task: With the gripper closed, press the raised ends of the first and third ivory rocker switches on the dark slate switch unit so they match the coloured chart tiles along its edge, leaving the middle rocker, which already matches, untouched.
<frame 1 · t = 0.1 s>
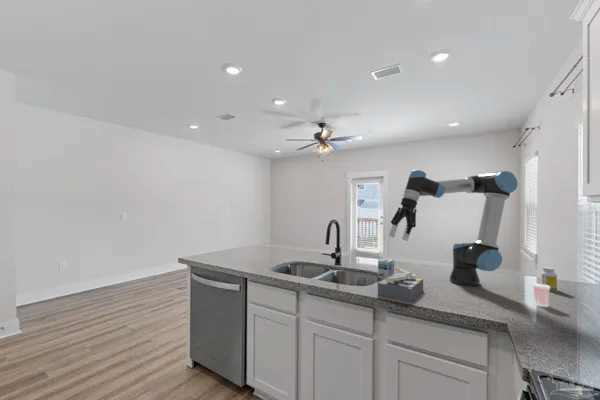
hand: (397, 238, 145), 28 cm above the worktop, tool tilted 20°, fingers open, 13 cm apart
rocker 1: (405, 272, 150), point 9 cm above the worktop, hinge at -17.0°
rocker 2: (401, 275, 144), point 9 cm above the worktop, hinge at 17.0°
light bulb box: (386, 277, 174), on the worktop
beverage cup: (541, 305, 128), on the worktop
switch unit: (401, 292, 144), on the worktop
rocker 3: (396, 278, 139), point 9 cm above the worktop, hinge at 17.0°
pill bottle: (548, 289, 152), on the worktop
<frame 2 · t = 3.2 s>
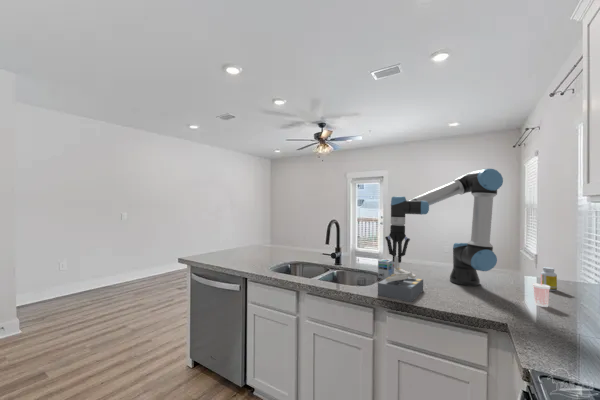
hand: (396, 268, 153), 11 cm above the worktop, tool pointing down, fingers closed
rocker 1: (405, 272, 150), point 9 cm above the worktop, hinge at -15.3°, touching gripper
everything else where it was.
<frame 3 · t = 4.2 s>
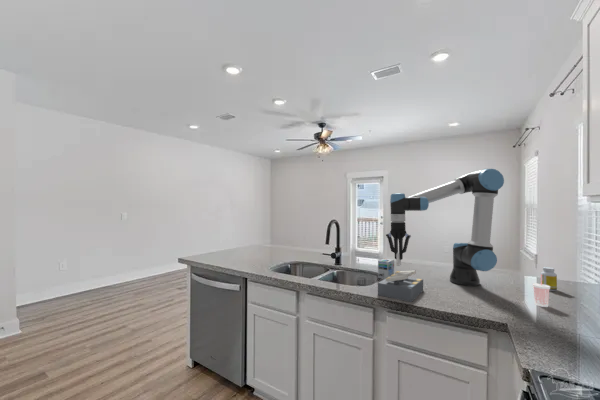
hand: (398, 265, 152), 12 cm above the worktop, tool pointing down, fingers closed
rocker 1: (405, 272, 150), point 9 cm above the worktop, hinge at 11.9°
everything else where it was.
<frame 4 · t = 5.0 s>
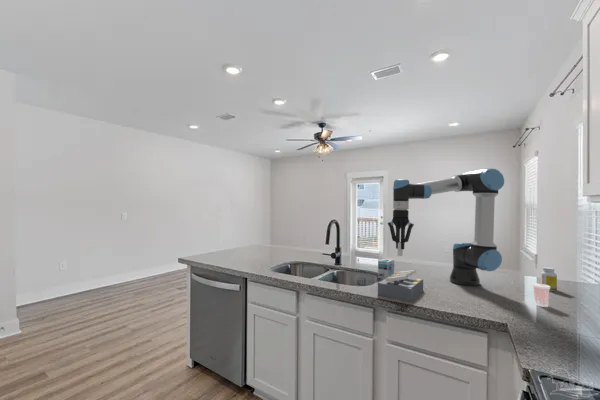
hand: (400, 255, 144), 19 cm above the worktop, tool pointing down, fingers closed
rocker 1: (405, 272, 150), point 9 cm above the worktop, hinge at 15.0°
everything else where it was.
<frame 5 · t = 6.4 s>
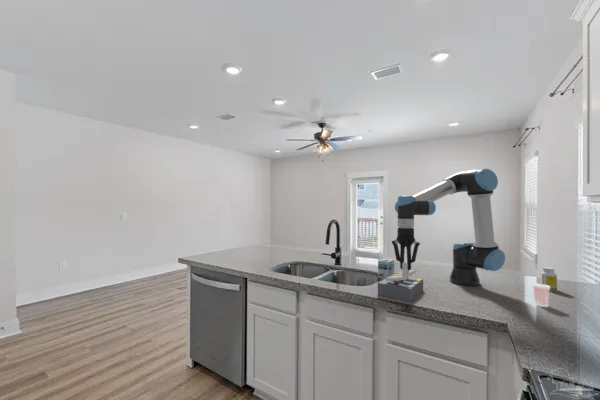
hand: (405, 276, 136), 11 cm above the worktop, tool pointing down, fingers closed, pressing on rocker 3
rocker 1: (405, 272, 150), point 9 cm above the worktop, hinge at 15.9°
rocker 3: (396, 278, 139), point 9 cm above the worktop, hinge at 13.5°, touching gripper
everything else where it was.
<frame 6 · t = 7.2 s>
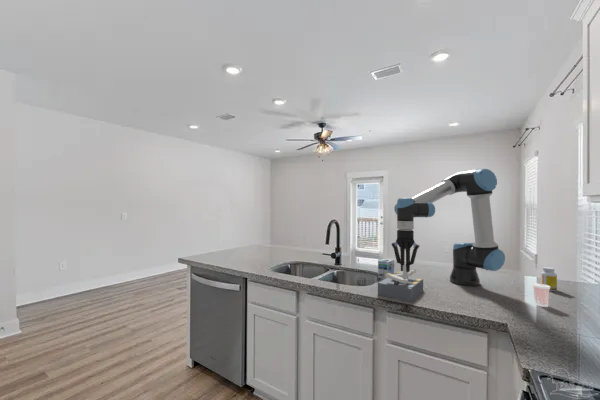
hand: (405, 278, 136), 9 cm above the worktop, tool pointing down, fingers closed
rocker 3: (396, 278, 139), point 9 cm above the worktop, hinge at -10.6°
everything else where it was.
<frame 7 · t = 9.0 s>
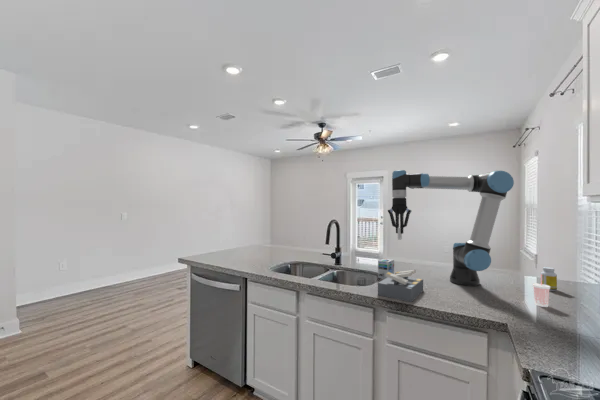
hand: (399, 239, 159), 26 cm above the worktop, tool pointing down, fingers closed
rocker 3: (396, 278, 139), point 9 cm above the worktop, hinge at -15.6°
everything else where it was.
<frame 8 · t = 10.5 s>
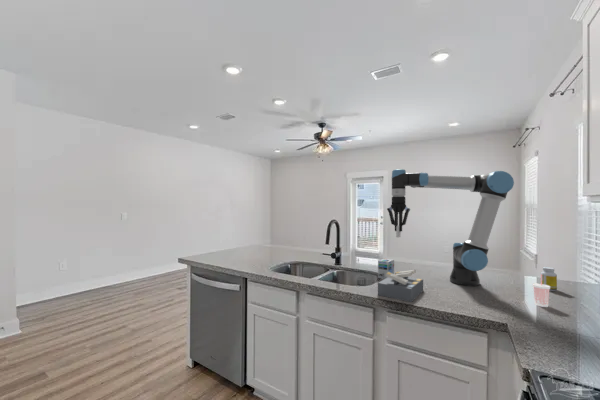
hand: (398, 237, 162), 26 cm above the worktop, tool pointing down, fingers closed
nothing on the worktop moved.
at the end: rocker 1 at +16° (first picture: -17°); rocker 3 at -16° (first picture: +17°); rocker 2 at +17° (first picture: +17°) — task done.
